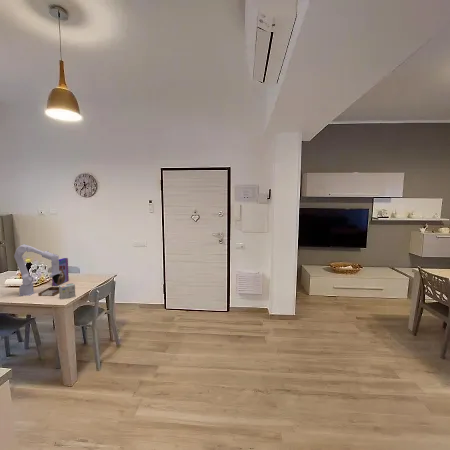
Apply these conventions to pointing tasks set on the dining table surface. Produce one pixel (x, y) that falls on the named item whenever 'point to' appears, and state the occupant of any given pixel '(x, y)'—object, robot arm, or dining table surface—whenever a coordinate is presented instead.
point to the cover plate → (48, 292)
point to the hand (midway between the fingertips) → (56, 282)
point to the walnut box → (50, 289)
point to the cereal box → (64, 269)
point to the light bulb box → (67, 291)
